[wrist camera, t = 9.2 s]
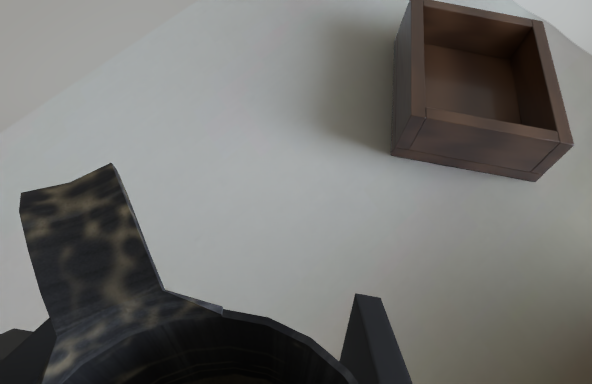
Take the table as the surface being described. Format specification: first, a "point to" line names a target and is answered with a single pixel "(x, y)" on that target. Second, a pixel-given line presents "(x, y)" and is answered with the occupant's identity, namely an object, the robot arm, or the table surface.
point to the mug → (143, 304)
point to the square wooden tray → (476, 92)
